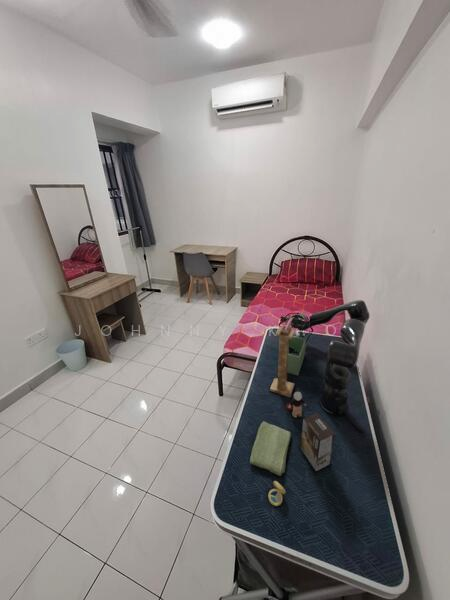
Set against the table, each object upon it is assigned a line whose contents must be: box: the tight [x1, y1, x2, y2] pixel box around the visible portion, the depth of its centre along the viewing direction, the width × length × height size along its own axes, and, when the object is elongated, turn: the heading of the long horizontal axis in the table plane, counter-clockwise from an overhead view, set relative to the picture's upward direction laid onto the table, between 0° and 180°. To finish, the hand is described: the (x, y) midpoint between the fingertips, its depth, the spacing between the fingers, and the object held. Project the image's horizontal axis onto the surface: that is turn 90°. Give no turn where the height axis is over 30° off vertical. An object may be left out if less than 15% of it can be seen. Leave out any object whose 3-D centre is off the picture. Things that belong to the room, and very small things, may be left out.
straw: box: [283, 318, 293, 334], centre depth 106 cm, size 1×13×1 cm, turn 153°
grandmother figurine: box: [288, 391, 307, 418], centre depth 101 cm, size 8×4×13 cm, turn 109°
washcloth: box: [249, 421, 292, 477], centre depth 90 cm, size 13×18×3 cm
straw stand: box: [269, 324, 296, 398], centre depth 110 cm, size 10×8×35 cm
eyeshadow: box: [267, 480, 287, 507], centre depth 76 cm, size 4×5×5 cm
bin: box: [287, 335, 307, 376], centre depth 131 cm, size 11×18×12 cm, turn 153°
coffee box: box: [300, 412, 336, 472], centre depth 84 cm, size 9×6×16 cm
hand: (292, 321), depth 116 cm, fingers open, 8 cm apart
